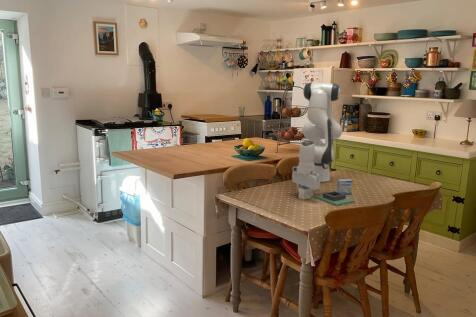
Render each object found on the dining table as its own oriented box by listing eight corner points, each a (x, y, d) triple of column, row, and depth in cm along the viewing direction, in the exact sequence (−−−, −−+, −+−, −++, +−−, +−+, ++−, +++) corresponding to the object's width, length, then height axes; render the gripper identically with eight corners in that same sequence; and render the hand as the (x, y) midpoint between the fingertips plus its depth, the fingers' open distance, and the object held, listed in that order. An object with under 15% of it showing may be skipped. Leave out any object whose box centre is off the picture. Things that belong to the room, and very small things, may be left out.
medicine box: (339, 195, 231) (340, 181, 229) (336, 193, 235) (336, 179, 233) (351, 194, 232) (352, 180, 230) (348, 192, 236) (349, 178, 235)
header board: (313, 197, 225) (314, 191, 225) (331, 194, 232) (332, 188, 232) (336, 206, 210) (336, 199, 210) (354, 202, 217) (355, 196, 217)
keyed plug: (298, 197, 225) (299, 186, 223) (306, 196, 228) (307, 185, 226) (303, 199, 221) (303, 188, 220) (311, 198, 224) (311, 186, 223)
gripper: (323, 173, 214) (321, 197, 217) (299, 166, 231) (298, 188, 234) (314, 174, 211) (313, 199, 214) (290, 167, 228) (289, 189, 231)
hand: (305, 193), depth 224 cm, fingers open, 8 cm apart
